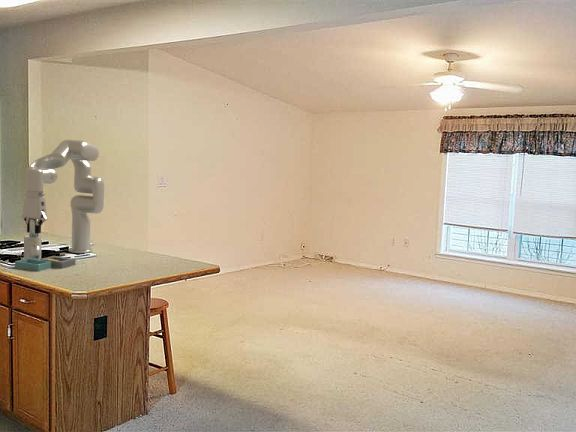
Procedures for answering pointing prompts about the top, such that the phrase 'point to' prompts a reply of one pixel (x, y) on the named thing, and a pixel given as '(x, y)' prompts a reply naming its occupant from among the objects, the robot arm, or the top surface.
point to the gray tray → (60, 261)
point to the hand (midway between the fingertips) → (33, 232)
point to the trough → (33, 264)
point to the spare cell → (35, 252)
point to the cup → (31, 242)
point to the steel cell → (32, 228)
